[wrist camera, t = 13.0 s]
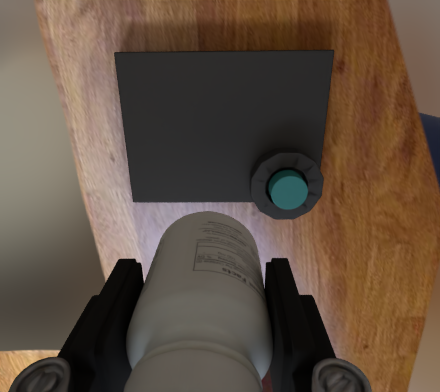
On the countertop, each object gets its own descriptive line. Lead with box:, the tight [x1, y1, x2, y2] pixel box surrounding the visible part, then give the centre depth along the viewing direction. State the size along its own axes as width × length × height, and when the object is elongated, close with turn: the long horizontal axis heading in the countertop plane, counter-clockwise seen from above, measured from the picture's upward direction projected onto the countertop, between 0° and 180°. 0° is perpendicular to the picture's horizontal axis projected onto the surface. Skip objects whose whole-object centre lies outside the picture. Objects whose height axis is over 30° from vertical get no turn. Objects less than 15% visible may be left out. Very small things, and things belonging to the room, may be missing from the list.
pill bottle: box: [124, 211, 273, 392], centre depth 10 cm, size 4×4×8 cm
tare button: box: [269, 170, 308, 209], centre depth 25 cm, size 3×3×2 cm
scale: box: [114, 50, 334, 219], centre depth 25 cm, size 16×13×3 cm
